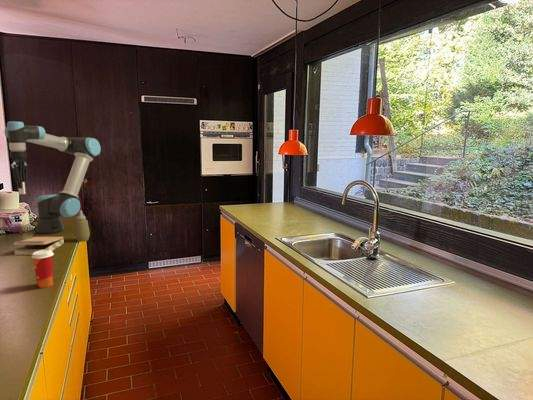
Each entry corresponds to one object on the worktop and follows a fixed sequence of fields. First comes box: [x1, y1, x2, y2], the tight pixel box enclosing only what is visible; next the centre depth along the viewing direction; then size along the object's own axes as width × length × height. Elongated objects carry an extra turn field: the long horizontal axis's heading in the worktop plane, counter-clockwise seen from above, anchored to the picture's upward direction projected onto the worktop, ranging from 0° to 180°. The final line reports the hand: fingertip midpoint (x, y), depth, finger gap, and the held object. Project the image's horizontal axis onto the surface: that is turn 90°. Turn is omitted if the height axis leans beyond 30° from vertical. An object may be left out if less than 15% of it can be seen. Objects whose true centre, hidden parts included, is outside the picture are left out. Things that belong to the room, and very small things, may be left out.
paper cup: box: [31, 250, 55, 289], centre depth 151 cm, size 8×8×14 cm
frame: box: [14, 238, 65, 256], centre depth 200 cm, size 20×15×2 cm
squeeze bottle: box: [74, 209, 91, 243], centre depth 215 cm, size 8×8×18 cm
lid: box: [13, 236, 64, 246], centre depth 200 cm, size 20×15×1 cm
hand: (22, 193), depth 205 cm, fingers closed
